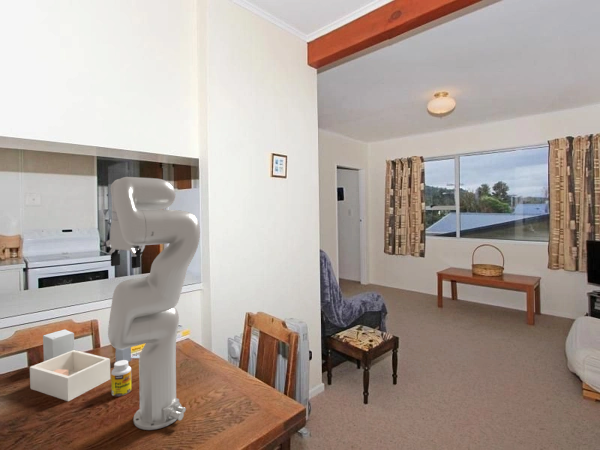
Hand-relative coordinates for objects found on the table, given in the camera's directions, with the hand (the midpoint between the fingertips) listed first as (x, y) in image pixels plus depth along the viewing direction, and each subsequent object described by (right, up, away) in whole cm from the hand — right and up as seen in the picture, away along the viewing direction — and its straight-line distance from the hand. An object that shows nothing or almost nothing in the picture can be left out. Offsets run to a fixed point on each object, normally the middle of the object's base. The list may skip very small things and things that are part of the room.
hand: (125, 266), depth 116 cm
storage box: (-14, -39, -6) cm, 42 cm away
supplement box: (-28, -38, +7) cm, 47 cm away
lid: (-6, -39, +10) cm, 40 cm away
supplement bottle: (+4, -39, -11) cm, 41 cm away
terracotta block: (-18, -38, -7) cm, 42 cm away
